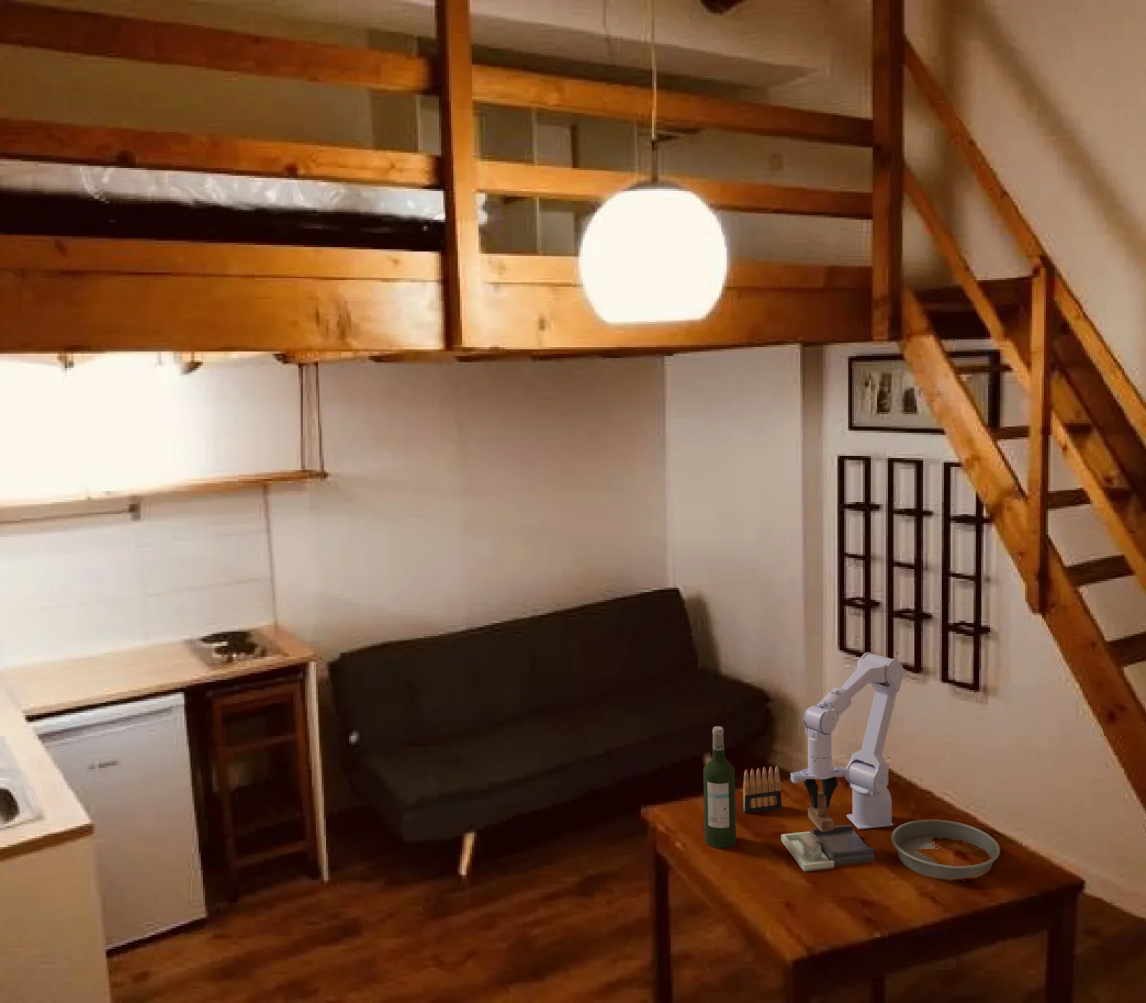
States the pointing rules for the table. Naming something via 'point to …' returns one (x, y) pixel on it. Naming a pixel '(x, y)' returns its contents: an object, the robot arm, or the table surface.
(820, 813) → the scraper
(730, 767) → the wine bottle
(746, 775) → the ammunition clip
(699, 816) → the table surface
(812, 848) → the chip
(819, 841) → the chip
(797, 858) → the tray
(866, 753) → the robot arm
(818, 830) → the slot plate
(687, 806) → the table surface
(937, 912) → the table surface
